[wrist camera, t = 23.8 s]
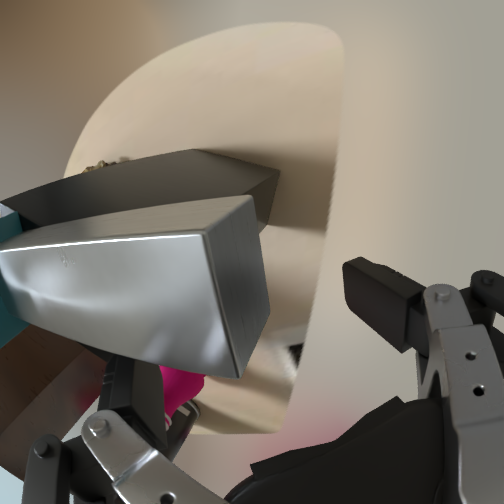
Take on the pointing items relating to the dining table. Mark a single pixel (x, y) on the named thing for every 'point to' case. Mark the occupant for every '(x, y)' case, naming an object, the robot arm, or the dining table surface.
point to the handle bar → (143, 283)
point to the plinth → (42, 391)
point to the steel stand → (144, 191)
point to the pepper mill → (179, 389)
